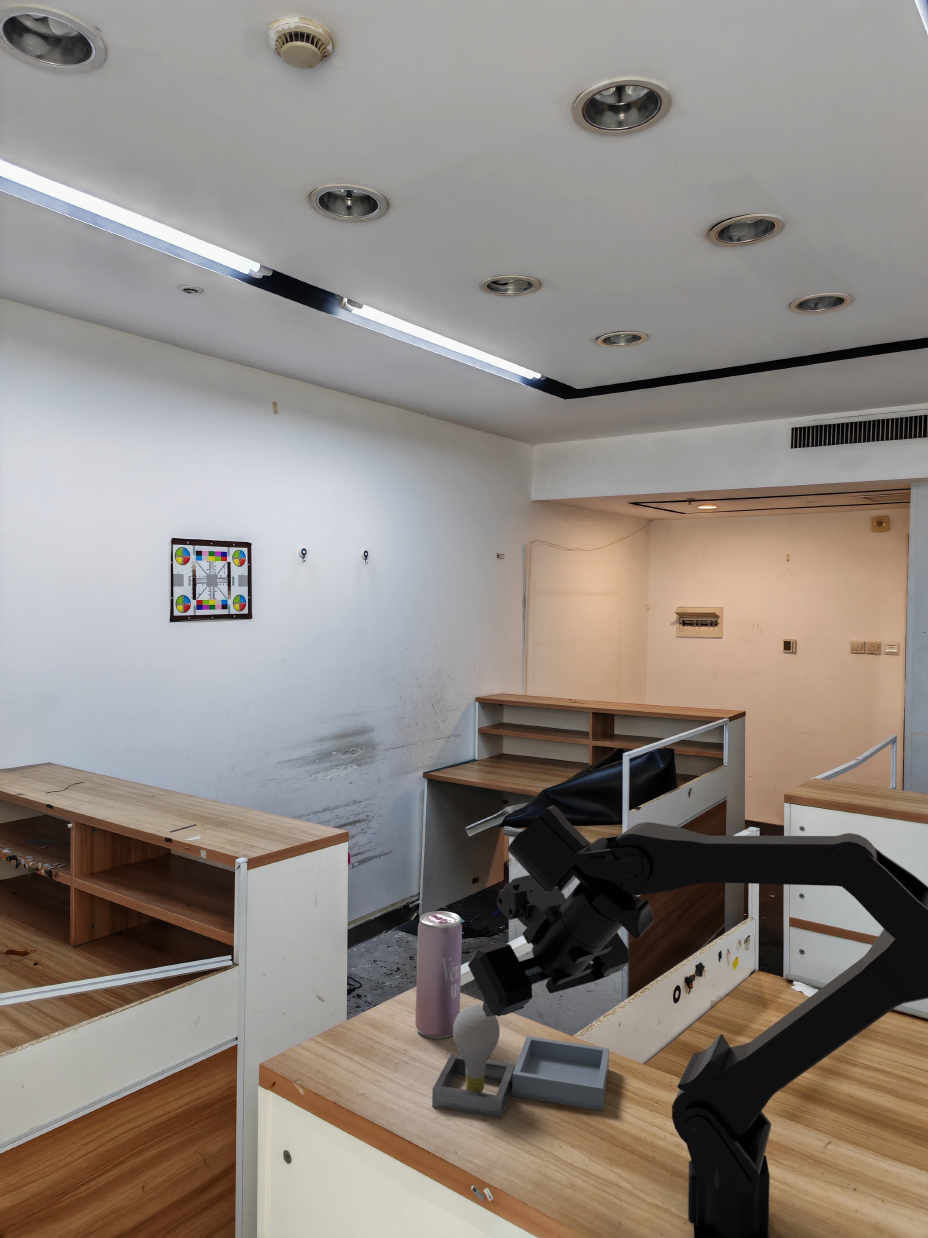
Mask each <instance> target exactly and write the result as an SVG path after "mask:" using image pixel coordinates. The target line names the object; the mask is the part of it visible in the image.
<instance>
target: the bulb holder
mask: <svg viewBox="0 0 928 1238" xmlns="http://www.w3.org/2000/svg"><path fill="white" fill-rule="evenodd" d="M515 1067H516V1064H515V1063H510V1062H504V1061H499V1060H498V1061H497V1060H490V1059H488V1060H487V1062H486V1065H485V1075H484V1081H490V1082H496V1083H500V1085H499V1086H498V1090H497V1092H496V1094H491V1093H484V1092H480V1093H479V1092H473V1091H468V1090H466V1089H462V1088H461V1089H460V1088H456V1087H455V1088H454V1087H450V1086H451V1085H452V1083H453V1080H454V1078H455V1076H459V1077H460V1076H461V1077H464V1078H466V1073H465V1072H466V1065H465V1061H464V1059H463V1057H462V1055H461V1054H460V1055H459V1054H454V1053H450V1056H449V1058H448V1059H447V1061H446V1062H445V1065H444V1066H443V1068H442V1070H441V1072H440V1074H439V1076H438V1078H437V1080H436V1081H435V1083H434V1085H433V1087H432V1094H431V1095H432V1097H431V1098H432V1099H431V1100H432V1101H431V1106H432V1107H433V1108H439V1109H445V1110H450V1111H456V1112H461V1113H465V1114H466V1113H467V1114H472V1115H478V1116H483V1117H491V1118H496V1119H502V1118H503V1115H504V1112H505V1109H506V1107H507V1104H508V1102H509V1099H510V1095H511V1094H512V1084H513V1072H514V1069H515Z"/></svg>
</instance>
